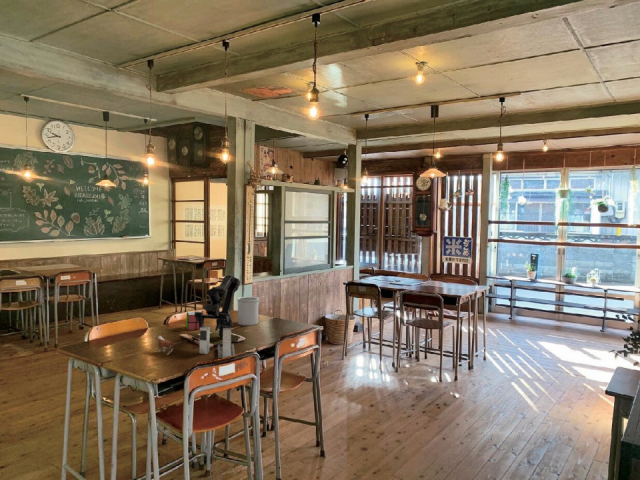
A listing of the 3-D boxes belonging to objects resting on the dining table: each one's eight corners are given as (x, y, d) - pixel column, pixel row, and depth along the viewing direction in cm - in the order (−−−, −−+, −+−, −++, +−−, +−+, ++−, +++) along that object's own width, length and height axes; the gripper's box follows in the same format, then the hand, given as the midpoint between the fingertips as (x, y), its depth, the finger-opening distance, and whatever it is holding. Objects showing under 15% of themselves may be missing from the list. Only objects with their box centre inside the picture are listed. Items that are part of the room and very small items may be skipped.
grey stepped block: (217, 348, 262) (218, 322, 261) (233, 348, 263) (233, 321, 263) (218, 358, 244) (218, 330, 243) (234, 358, 246) (235, 329, 245)
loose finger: (202, 351, 256) (202, 326, 255) (209, 351, 256) (209, 326, 255) (198, 353, 251) (199, 328, 251) (206, 354, 251) (206, 328, 250)
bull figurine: (160, 349, 258) (161, 334, 257) (174, 354, 249) (175, 339, 249) (153, 350, 254) (153, 335, 254) (167, 356, 246) (167, 340, 245)
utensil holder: (232, 322, 325) (233, 297, 324) (250, 319, 335) (251, 295, 334) (244, 326, 314) (245, 300, 313) (262, 323, 324) (263, 298, 323)
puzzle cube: (203, 329, 304) (204, 314, 303) (188, 330, 300) (188, 314, 300) (201, 325, 313) (202, 311, 313) (186, 326, 309) (186, 311, 309)
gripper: (195, 297, 263) (187, 321, 253) (227, 299, 261) (220, 323, 251) (200, 308, 271) (192, 332, 261) (231, 310, 269) (225, 334, 259)
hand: (207, 330), depth 258 cm, fingers open, 9 cm apart
